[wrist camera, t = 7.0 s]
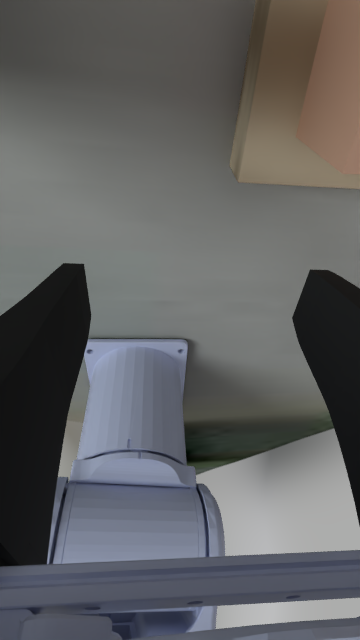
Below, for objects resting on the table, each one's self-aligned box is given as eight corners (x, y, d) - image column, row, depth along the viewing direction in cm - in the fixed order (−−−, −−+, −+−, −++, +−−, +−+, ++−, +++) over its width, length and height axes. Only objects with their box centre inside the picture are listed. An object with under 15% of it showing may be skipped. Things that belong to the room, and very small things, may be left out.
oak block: (384, 172, 19) (415, 192, 17) (228, 163, 18) (238, 182, 16) (493, -69, 13) (563, -89, 11) (268, -97, 12) (293, -126, 10)
